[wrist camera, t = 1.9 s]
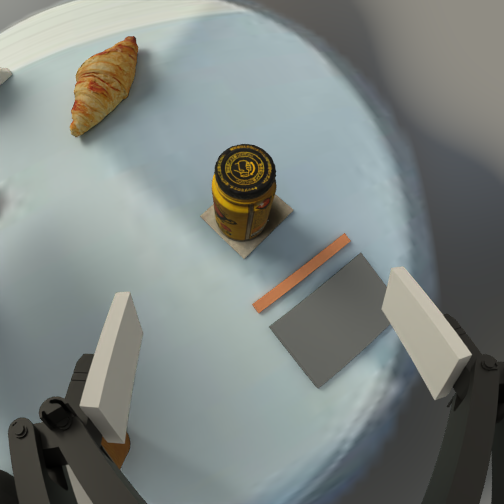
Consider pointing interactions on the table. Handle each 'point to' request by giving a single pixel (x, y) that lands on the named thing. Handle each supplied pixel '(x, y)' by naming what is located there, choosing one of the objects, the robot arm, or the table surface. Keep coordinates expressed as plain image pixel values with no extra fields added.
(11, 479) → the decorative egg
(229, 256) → the table surface
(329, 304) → the mat
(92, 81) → the croissant
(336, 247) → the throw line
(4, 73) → the white mech figurine
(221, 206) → the condiment
